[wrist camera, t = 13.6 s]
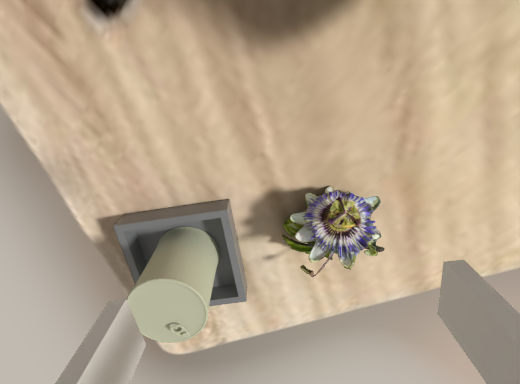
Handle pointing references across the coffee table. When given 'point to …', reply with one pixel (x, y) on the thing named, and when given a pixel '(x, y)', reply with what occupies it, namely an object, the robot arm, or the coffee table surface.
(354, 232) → the passion flower
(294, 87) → the coffee table surface
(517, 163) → the coffee table surface
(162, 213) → the tray
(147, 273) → the can
